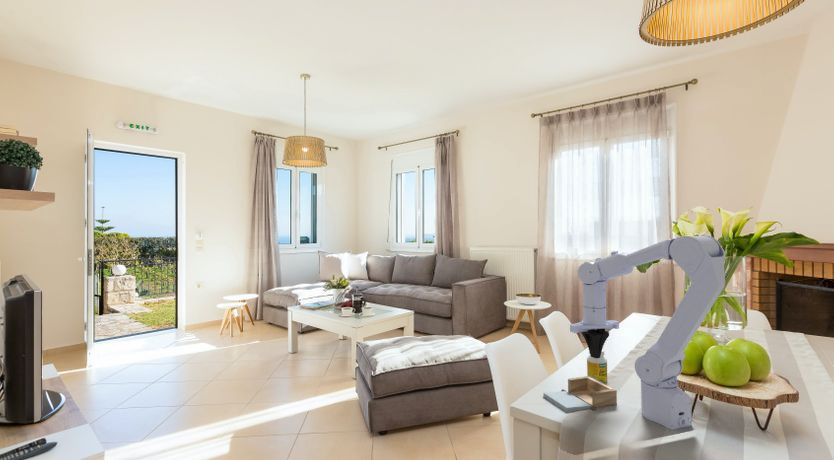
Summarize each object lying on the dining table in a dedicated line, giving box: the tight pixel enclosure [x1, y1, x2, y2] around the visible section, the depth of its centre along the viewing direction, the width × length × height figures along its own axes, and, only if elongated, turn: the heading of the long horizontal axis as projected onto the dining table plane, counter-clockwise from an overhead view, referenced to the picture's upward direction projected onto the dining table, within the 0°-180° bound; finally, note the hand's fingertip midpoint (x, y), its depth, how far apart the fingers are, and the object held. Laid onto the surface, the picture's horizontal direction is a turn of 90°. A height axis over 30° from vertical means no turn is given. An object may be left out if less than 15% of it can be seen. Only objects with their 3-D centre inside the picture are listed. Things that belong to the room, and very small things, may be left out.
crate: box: [561, 375, 618, 411], centre depth 99 cm, size 12×8×4 cm
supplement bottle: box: [586, 348, 608, 384], centre depth 112 cm, size 5×5×10 cm
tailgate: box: [542, 390, 591, 413], centre depth 97 cm, size 9×1×7 cm
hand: (595, 357), depth 103 cm, fingers closed
